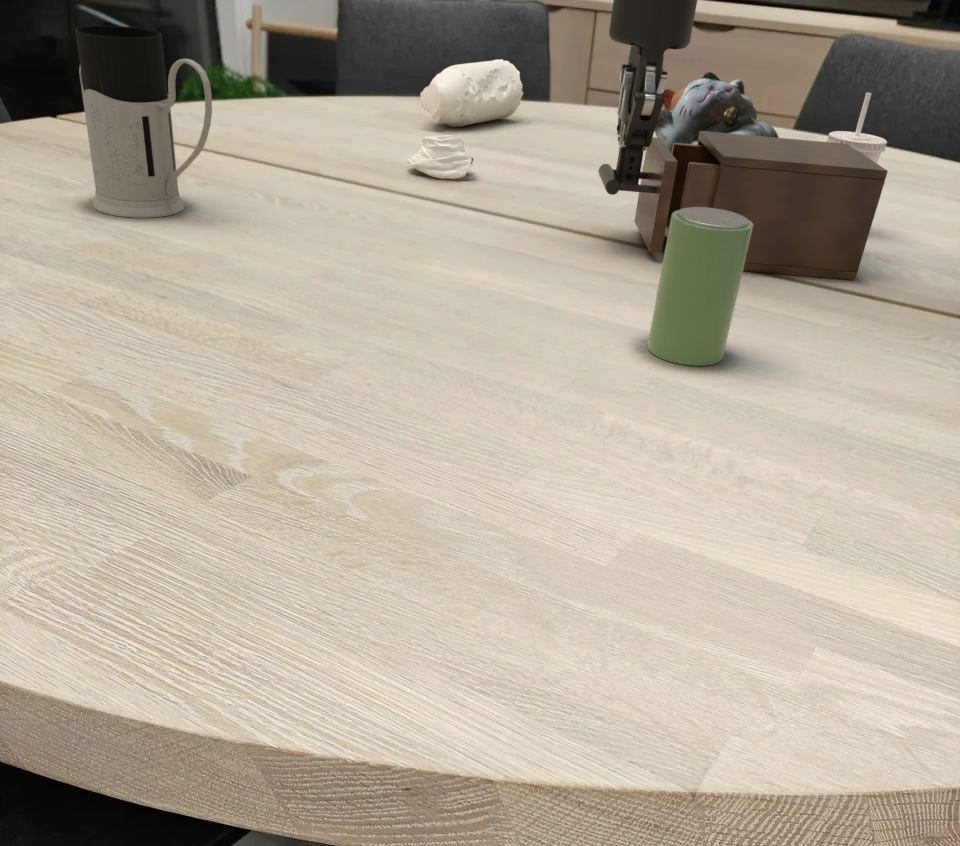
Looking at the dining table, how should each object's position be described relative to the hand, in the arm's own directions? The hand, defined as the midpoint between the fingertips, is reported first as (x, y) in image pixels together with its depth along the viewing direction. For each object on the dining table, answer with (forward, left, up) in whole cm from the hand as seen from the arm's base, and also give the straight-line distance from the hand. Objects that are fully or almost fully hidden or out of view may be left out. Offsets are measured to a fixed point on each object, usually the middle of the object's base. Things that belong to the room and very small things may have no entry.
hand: (625, 188), depth 100 cm
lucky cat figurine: (-16, -34, -5) cm, 38 cm away
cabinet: (-15, 0, -5) cm, 16 cm away
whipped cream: (+19, -25, -5) cm, 32 cm away
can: (-2, +30, -5) cm, 31 cm away
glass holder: (+46, +2, -5) cm, 46 cm away
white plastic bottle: (+15, -59, -5) cm, 61 cm away
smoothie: (-27, -14, -5) cm, 31 cm away
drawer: (-7, 0, -4) cm, 8 cm away
